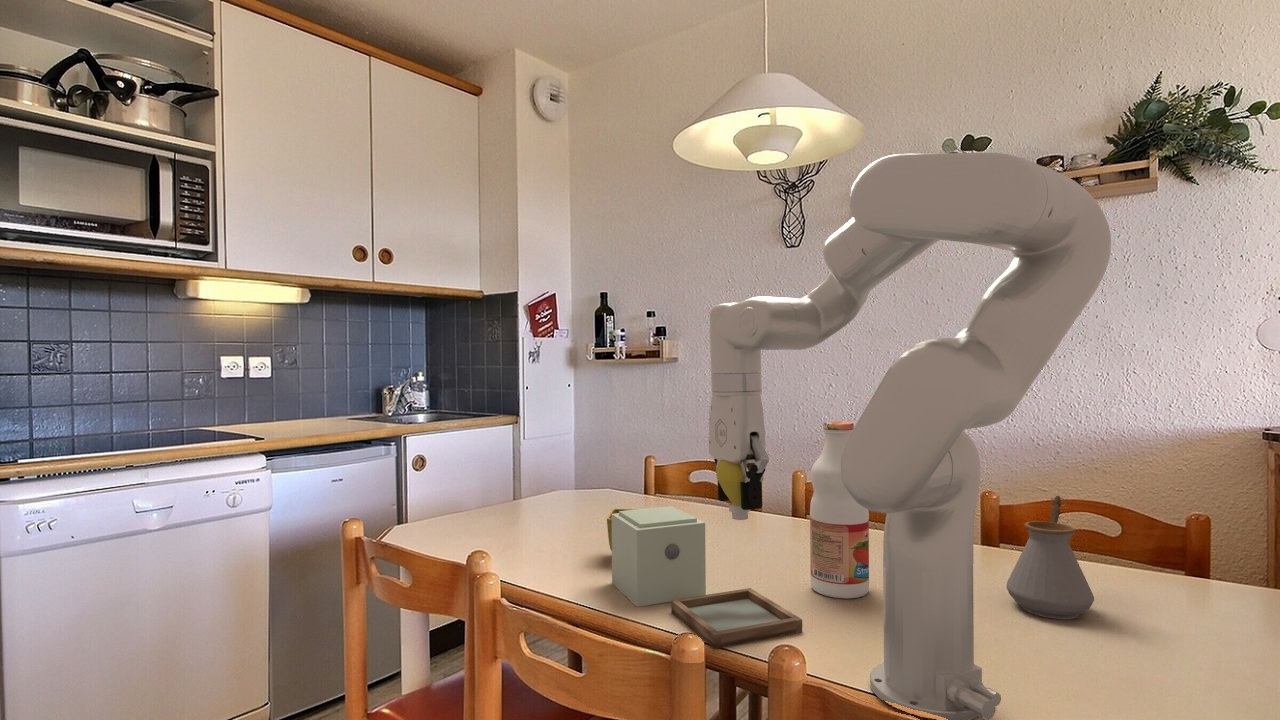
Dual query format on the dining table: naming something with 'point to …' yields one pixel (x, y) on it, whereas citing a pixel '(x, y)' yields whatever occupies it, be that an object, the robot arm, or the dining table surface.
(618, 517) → the housing unit
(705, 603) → the tray
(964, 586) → the robot arm
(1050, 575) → the coffee pot
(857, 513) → the fruit juice
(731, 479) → the light bulb
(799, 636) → the dining table surface
